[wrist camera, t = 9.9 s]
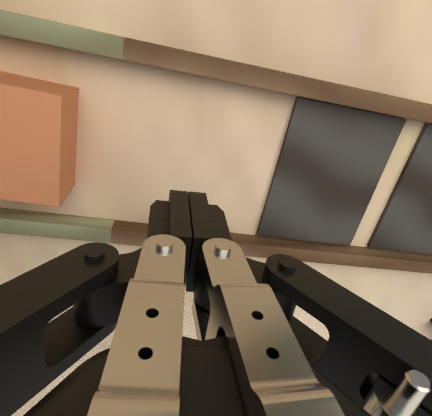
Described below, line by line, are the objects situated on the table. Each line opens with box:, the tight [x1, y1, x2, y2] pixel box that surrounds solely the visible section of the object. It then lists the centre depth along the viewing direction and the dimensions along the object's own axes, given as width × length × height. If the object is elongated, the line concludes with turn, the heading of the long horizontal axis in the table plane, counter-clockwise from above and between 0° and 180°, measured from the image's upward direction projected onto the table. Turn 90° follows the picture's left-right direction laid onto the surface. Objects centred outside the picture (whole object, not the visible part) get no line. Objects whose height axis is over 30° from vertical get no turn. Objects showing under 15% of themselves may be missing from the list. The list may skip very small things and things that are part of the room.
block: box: [0, 71, 79, 207], centre depth 20 cm, size 7×7×4 cm
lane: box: [0, 10, 432, 273], centre depth 23 cm, size 14×49×4 cm, turn 79°
